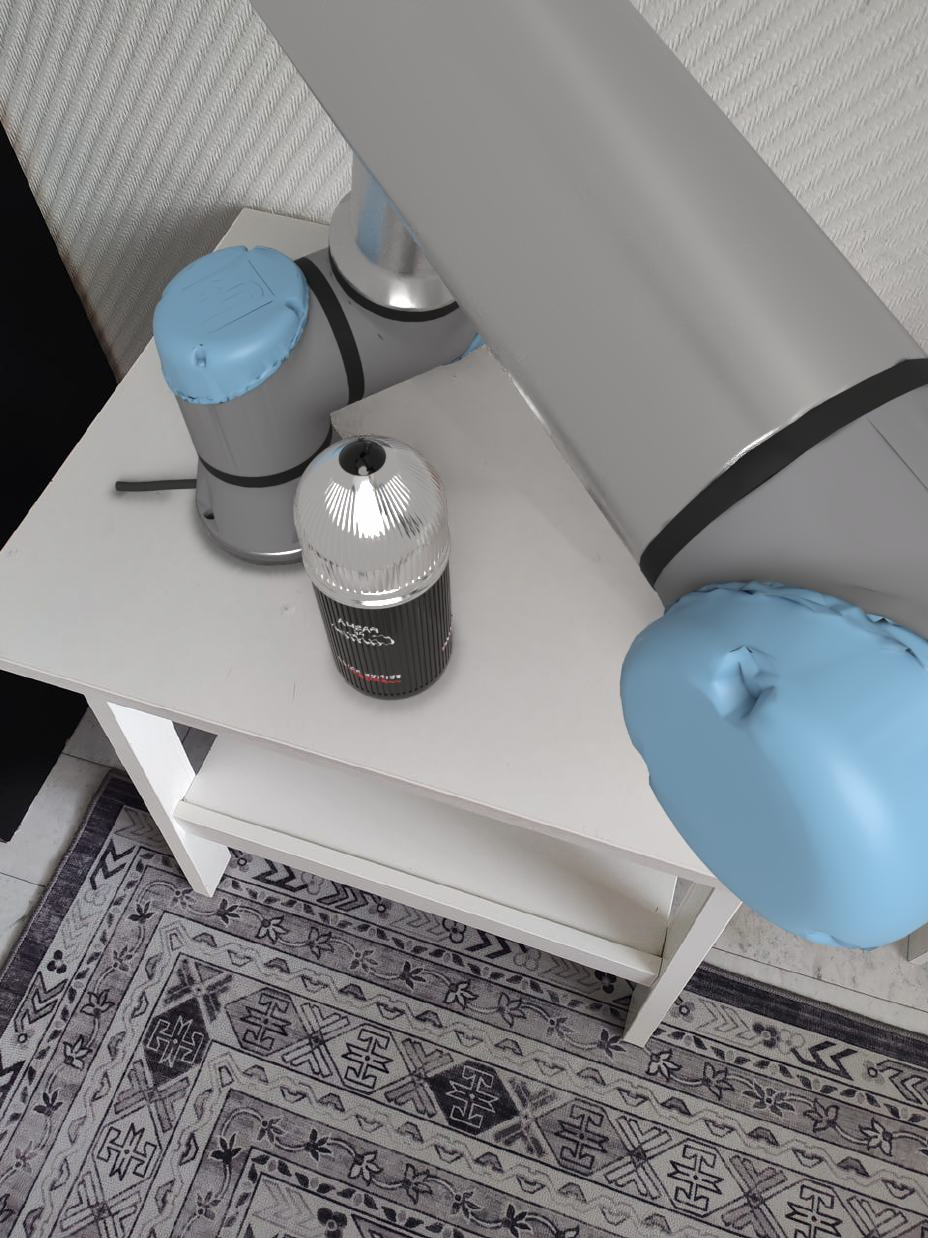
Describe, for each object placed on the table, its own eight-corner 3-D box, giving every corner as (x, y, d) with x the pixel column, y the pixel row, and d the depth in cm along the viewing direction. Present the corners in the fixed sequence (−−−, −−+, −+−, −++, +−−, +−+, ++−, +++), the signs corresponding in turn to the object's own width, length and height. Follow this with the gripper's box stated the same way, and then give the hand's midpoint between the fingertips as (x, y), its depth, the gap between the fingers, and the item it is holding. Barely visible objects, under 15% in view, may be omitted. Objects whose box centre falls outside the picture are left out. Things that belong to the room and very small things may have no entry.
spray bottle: (440, 718, 71) (425, 530, 49) (317, 696, 72) (251, 502, 51) (466, 611, 76) (462, 399, 55) (351, 592, 77) (303, 376, 56)
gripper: (822, 882, 32) (669, 753, 53) (1480, 761, 33) (1070, 681, 54) (792, 681, 32) (650, 632, 53) (1462, 561, 32) (1055, 559, 53)
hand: (862, 656), depth 53 cm, fingers open, 13 cm apart
